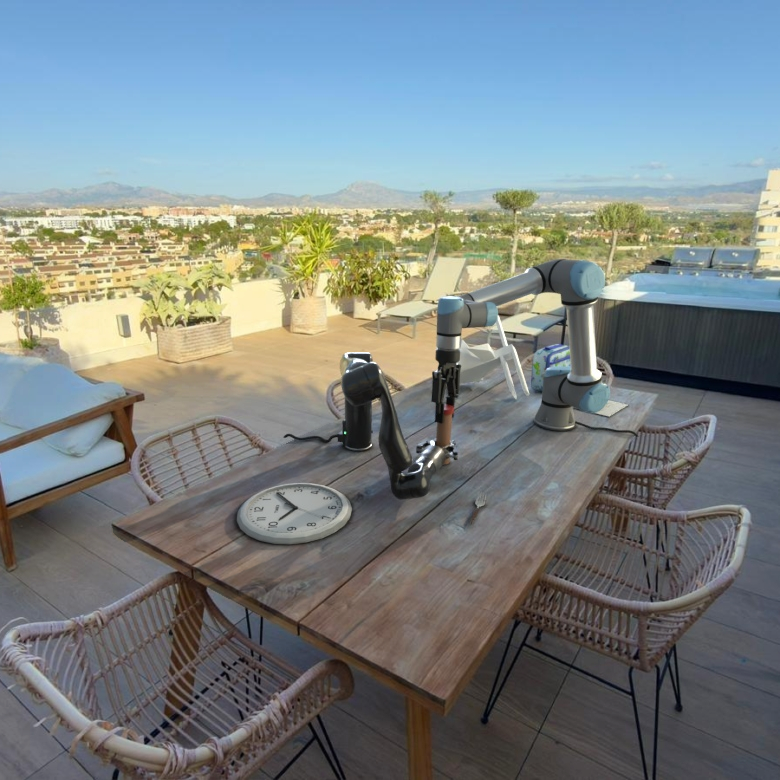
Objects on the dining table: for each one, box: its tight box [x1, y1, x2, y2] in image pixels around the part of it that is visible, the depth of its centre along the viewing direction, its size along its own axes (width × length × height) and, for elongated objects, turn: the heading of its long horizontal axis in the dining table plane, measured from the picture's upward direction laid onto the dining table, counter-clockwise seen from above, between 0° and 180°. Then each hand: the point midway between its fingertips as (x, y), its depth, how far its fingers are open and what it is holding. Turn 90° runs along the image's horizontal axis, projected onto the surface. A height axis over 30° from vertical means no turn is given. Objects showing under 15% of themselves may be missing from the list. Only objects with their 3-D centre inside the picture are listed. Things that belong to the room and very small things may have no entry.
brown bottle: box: [435, 414, 453, 466], centre depth 168 cm, size 5×5×18 cm
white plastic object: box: [442, 315, 531, 400], centre depth 245 cm, size 37×45×31 cm
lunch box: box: [530, 343, 571, 392], centre depth 248 cm, size 26×11×21 cm, turn 134°
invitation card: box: [573, 399, 629, 418], centre depth 226 cm, size 21×1×15 cm
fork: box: [469, 491, 487, 526], centre depth 140 cm, size 3×16×2 cm, turn 160°
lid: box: [444, 403, 455, 415], centre depth 165 cm, size 6×6×2 cm
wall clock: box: [236, 482, 353, 545], centre depth 139 cm, size 30×2×30 cm
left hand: (445, 441), depth 171 cm, fingers closed on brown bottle, 4 cm apart
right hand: (444, 419), depth 166 cm, fingers closed on lid, 6 cm apart
